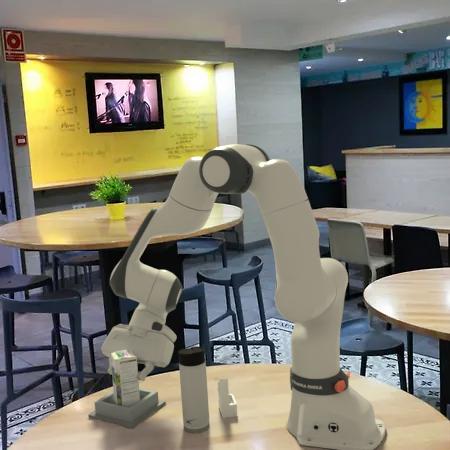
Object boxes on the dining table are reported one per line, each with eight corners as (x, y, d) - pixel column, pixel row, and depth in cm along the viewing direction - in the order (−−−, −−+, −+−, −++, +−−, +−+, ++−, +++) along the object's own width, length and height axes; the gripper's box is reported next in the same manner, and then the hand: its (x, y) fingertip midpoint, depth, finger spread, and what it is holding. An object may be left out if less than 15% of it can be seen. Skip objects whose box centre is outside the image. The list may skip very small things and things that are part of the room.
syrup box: (113, 405, 153) (109, 352, 150) (136, 400, 155) (131, 348, 153) (119, 415, 148) (114, 360, 145) (141, 409, 150) (137, 355, 148)
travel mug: (189, 436, 137) (183, 355, 134) (180, 424, 143) (174, 346, 140) (214, 430, 140) (209, 350, 136) (204, 418, 146) (198, 341, 142)
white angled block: (225, 416, 141) (220, 379, 144) (220, 419, 150) (216, 384, 153) (240, 414, 141) (235, 377, 144) (234, 417, 150) (230, 382, 153)
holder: (165, 403, 154) (164, 390, 154) (132, 428, 142) (131, 414, 142) (123, 394, 161) (122, 381, 160) (88, 417, 149) (87, 403, 148)
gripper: (109, 317, 160) (87, 365, 153) (171, 327, 150) (151, 378, 143) (120, 328, 164) (100, 375, 158) (182, 337, 154) (163, 388, 148)
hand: (125, 376), depth 150 cm, fingers open, 8 cm apart
